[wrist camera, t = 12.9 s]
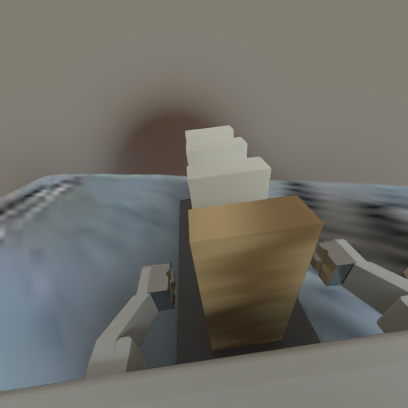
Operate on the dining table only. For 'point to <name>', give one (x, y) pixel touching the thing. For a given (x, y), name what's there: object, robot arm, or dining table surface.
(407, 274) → the coffeecake box
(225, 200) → the tile
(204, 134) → the tile
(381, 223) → the dining table surface
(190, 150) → the tile
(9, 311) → the dining table surface
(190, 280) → the mat
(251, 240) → the wooden block
